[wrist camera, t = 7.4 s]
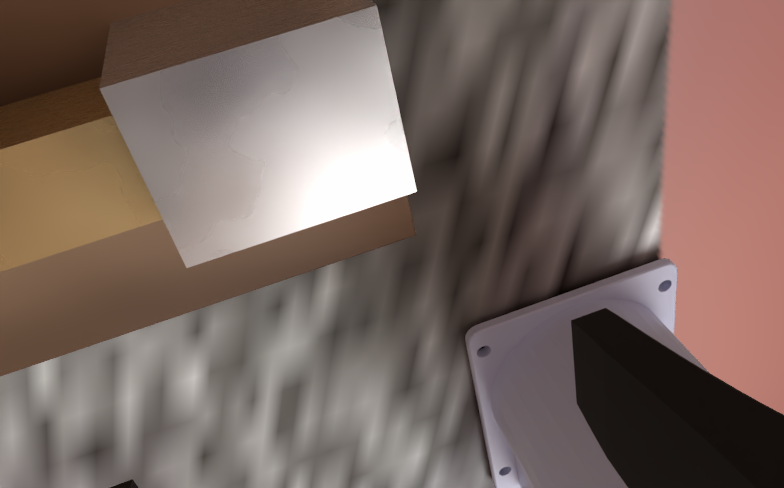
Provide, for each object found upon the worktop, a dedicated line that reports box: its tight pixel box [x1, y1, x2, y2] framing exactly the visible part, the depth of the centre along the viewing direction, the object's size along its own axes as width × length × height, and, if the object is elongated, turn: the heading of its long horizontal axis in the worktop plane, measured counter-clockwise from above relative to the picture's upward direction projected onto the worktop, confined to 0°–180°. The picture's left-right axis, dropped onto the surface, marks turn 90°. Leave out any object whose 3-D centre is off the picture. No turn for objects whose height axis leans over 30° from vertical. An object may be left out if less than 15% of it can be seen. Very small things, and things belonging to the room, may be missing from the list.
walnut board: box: [0, 0, 416, 376], centre depth 17 cm, size 12×15×1 cm
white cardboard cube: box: [99, 0, 417, 268], centre depth 15 cm, size 4×5×4 cm
